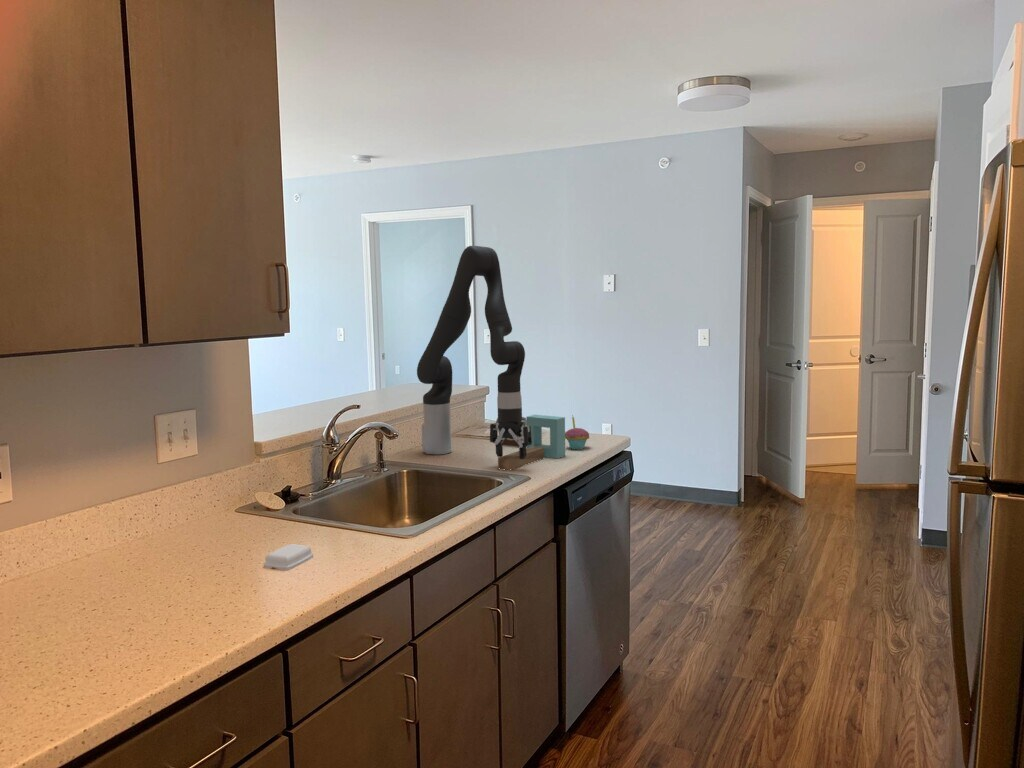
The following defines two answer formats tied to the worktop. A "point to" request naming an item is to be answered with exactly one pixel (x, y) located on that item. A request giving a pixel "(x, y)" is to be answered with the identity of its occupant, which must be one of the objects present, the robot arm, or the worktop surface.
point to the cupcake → (576, 437)
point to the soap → (288, 557)
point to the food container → (511, 441)
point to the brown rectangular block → (514, 460)
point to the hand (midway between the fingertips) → (511, 457)
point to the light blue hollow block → (556, 434)
